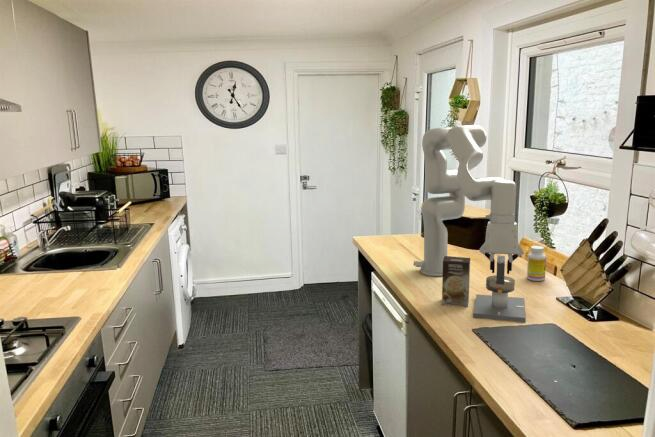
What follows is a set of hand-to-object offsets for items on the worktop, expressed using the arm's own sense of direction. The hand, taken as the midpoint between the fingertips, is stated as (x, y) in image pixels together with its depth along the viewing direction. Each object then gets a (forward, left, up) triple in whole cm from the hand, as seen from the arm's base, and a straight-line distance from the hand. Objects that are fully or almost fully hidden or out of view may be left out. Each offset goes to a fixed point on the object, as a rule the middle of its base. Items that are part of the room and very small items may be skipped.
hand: (500, 271), depth 171 cm
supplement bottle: (+13, +36, -14) cm, 41 cm away
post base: (0, 0, -13) cm, 13 cm away
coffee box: (-15, +3, -14) cm, 20 cm away
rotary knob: (0, -1, -6) cm, 6 cm away
